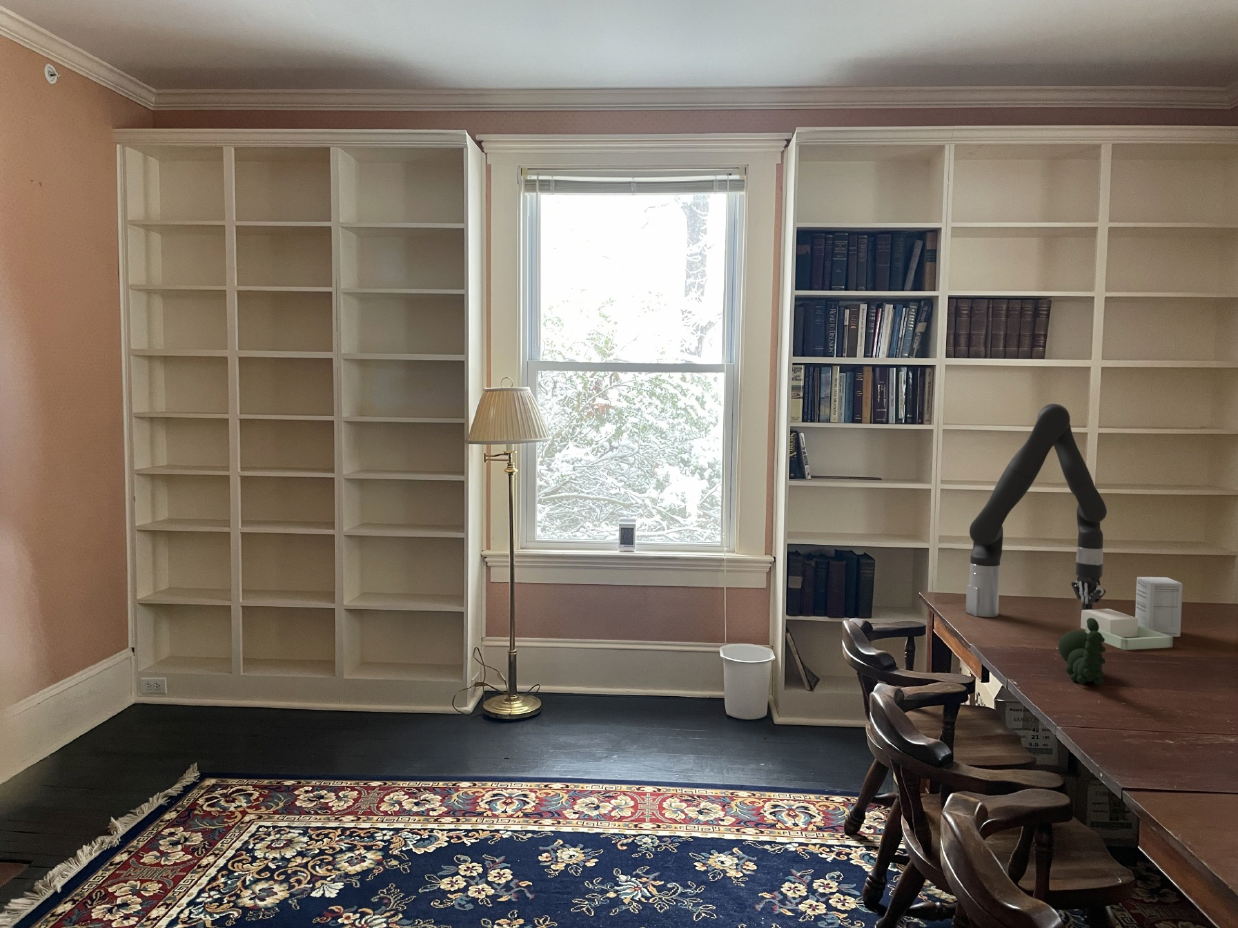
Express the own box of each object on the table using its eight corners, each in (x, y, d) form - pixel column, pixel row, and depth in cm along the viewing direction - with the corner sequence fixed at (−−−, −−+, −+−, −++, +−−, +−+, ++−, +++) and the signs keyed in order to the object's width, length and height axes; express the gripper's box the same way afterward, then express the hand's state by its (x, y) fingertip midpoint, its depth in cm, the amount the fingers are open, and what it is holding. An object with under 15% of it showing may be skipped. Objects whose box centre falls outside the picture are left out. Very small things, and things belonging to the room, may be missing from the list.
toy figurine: (1113, 700, 211) (1089, 661, 235) (1119, 627, 208) (1094, 595, 231) (1071, 696, 214) (1051, 658, 237) (1076, 624, 210) (1055, 593, 234)
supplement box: (1165, 629, 270) (1168, 576, 269) (1181, 637, 261) (1184, 583, 260) (1133, 628, 271) (1136, 576, 270) (1148, 636, 262) (1151, 582, 261)
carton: (1109, 639, 260) (1110, 619, 260) (1080, 628, 272) (1081, 610, 271) (1137, 637, 262) (1138, 618, 262) (1107, 626, 274) (1108, 608, 273)
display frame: (1123, 649, 248) (1124, 639, 248) (1085, 635, 263) (1085, 625, 263) (1172, 646, 251) (1173, 636, 251) (1131, 632, 266) (1132, 623, 266)
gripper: (1064, 557, 278) (1062, 609, 280) (1094, 565, 265) (1091, 620, 267) (1084, 557, 280) (1082, 608, 281) (1115, 564, 267) (1112, 619, 268)
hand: (1086, 614), depth 274 cm, fingers closed
